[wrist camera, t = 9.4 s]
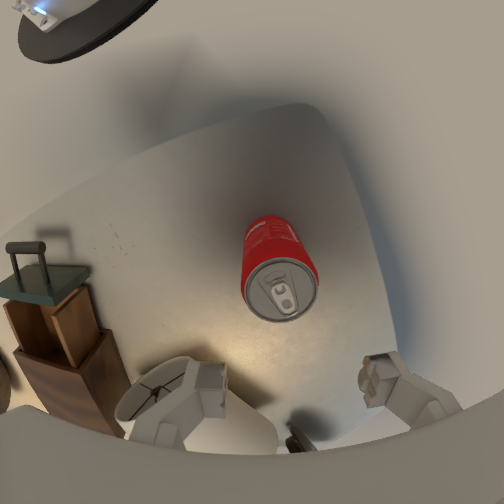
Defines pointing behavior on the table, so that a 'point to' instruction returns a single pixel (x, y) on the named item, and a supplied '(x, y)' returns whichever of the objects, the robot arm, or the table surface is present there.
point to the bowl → (4, 388)
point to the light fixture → (210, 429)
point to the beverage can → (277, 272)
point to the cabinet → (81, 386)
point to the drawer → (49, 308)
